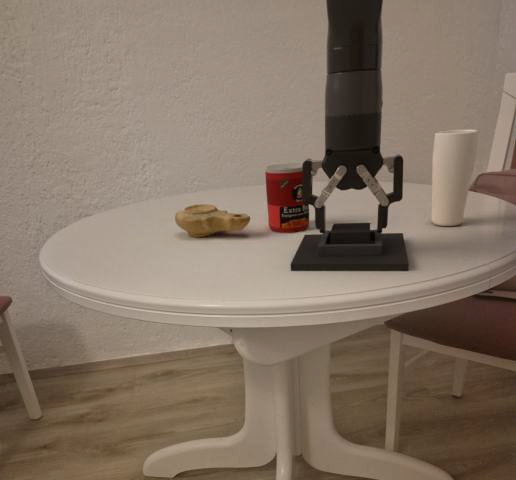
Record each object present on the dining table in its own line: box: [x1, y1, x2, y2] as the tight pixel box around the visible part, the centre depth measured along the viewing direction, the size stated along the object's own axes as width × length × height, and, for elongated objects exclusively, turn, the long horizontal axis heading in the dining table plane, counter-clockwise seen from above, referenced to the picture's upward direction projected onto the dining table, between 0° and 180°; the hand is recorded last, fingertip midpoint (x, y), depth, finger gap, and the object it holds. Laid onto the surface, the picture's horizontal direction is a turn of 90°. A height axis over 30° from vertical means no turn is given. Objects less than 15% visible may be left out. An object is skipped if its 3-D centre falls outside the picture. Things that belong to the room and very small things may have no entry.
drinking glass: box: [430, 129, 479, 227], centre depth 82 cm, size 7×7×15 cm
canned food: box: [264, 162, 310, 233], centre depth 88 cm, size 8×8×11 cm
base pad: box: [290, 229, 410, 272], centre depth 73 cm, size 16×16×2 cm
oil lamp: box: [174, 204, 251, 238], centre depth 89 cm, size 11×14×5 cm
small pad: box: [330, 222, 371, 244], centre depth 72 cm, size 6×6×3 cm
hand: (350, 231), depth 72 cm, fingers open, 8 cm apart
